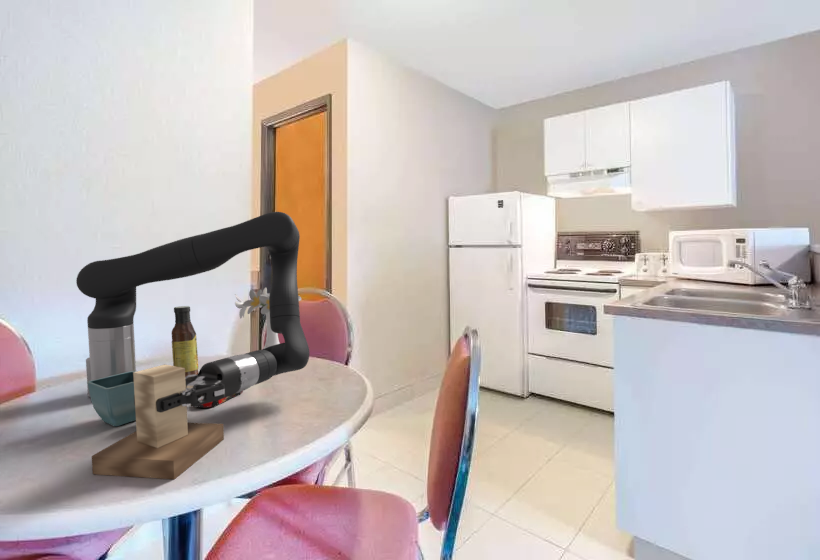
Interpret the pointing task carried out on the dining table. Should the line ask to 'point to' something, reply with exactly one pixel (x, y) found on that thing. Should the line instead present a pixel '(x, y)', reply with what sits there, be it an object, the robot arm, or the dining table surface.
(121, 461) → the walnut slab
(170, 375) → the oak pillar
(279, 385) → the dining table surface
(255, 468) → the dining table surface
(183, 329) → the sauce bottle
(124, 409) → the flower pot
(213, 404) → the race car
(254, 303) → the flower vase
